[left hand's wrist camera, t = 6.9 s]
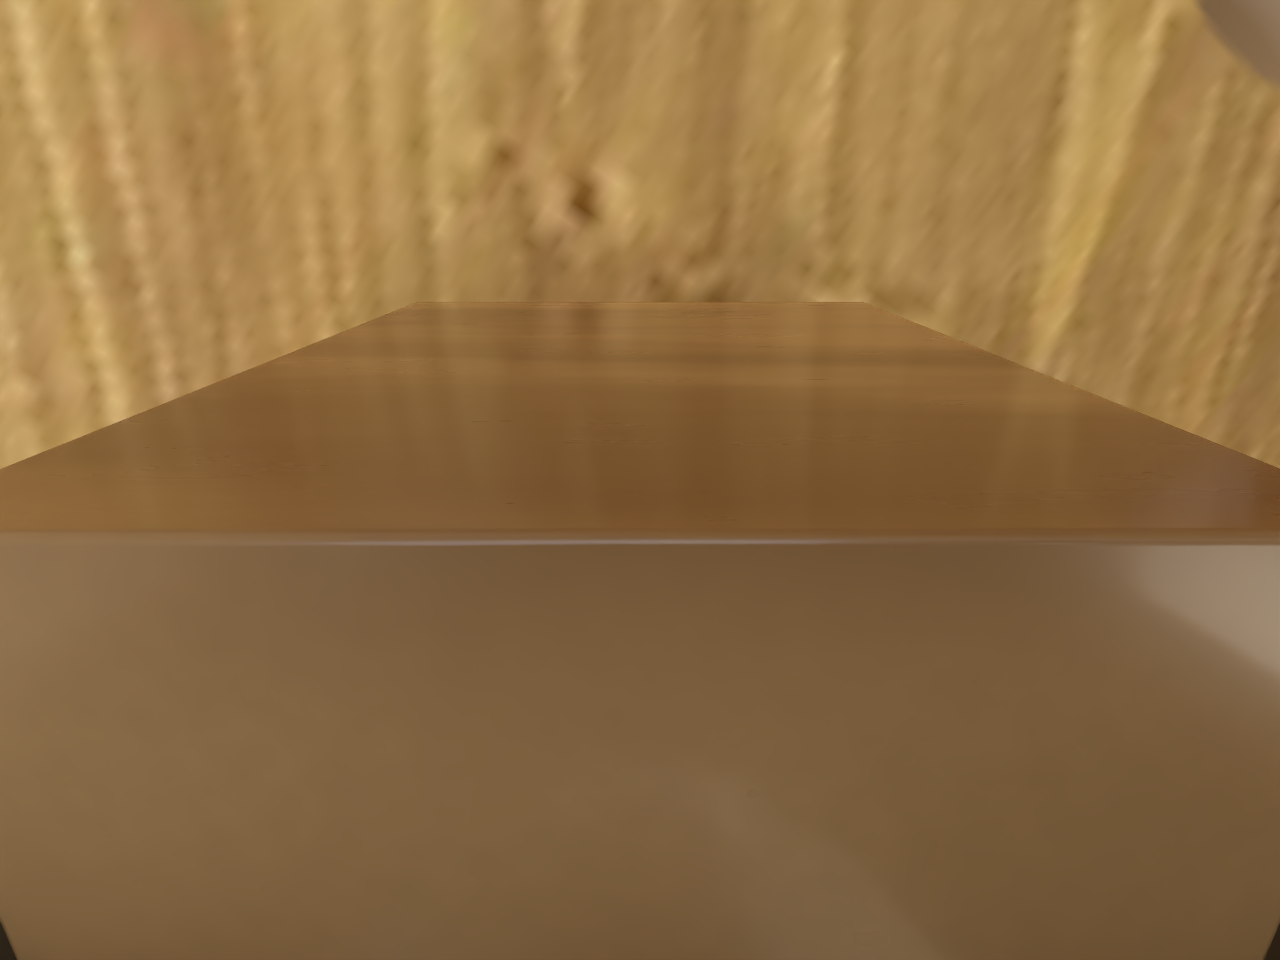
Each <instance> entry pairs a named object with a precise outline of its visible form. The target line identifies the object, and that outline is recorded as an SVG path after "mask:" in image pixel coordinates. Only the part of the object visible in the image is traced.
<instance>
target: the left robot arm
mask: <svg viewBox="0 0 1280 960" xmlns="http://www.w3.org/2000/svg"><path fill="white" fill-rule="evenodd" d="M0 960H17V959H16V956H15V954H14V952H13V949H12V947H11V945H10V942H9V940H8V938H7V935H6V933H5V931H4V928H3V926H2V924H1V921H0ZM1264 960H1280V924H1279V926H1278V929H1277V931H1276V933H1275V936H1274V938H1273V940H1272V943H1271V945H1270V947H1269V950H1268V952H1267V954H1266V957H1265V959H1264Z"/></svg>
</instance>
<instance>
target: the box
mask: <svg viewBox="0 0 1280 960" xmlns="http://www.w3.org/2000/svg"><path fill="white" fill-rule="evenodd" d="M0 921H1V924H2V926H3V928H4V931H5V933H6V935H7V938H8V940H9V942H10V945H11V947H12V949H13V952H14V954H15V956H16V959H17V960H1264V959H1265V957H1266V954H1267V952H1268V950H1269V947H1270V945H1271V943H1272V940H1273V938H1274V936H1275V933H1276V931H1277V929H1278V926H1279V924H1280V469H1279V468H1277V467H1274V466H1272V465H1269V464H1267V463H1264V462H1262V461H1259V460H1257V459H1254V458H1252V457H1249V456H1247V455H1244V454H1242V453H1239V452H1237V451H1234V450H1232V449H1229V448H1227V447H1224V446H1222V445H1219V444H1217V443H1214V442H1212V441H1209V440H1206V439H1204V438H1202V437H1199V436H1196V435H1194V434H1191V433H1189V432H1186V431H1184V430H1181V429H1179V428H1176V427H1174V426H1171V425H1169V424H1166V423H1164V422H1161V421H1159V420H1156V419H1154V418H1151V417H1149V416H1146V415H1144V414H1141V413H1139V412H1136V411H1134V410H1131V409H1129V408H1126V407H1124V406H1121V405H1119V404H1116V403H1114V402H1111V401H1109V400H1106V399H1104V398H1101V397H1099V396H1096V395H1094V394H1091V393H1089V392H1086V391H1084V390H1081V389H1079V388H1076V387H1074V386H1071V385H1069V384H1066V383H1064V382H1061V381H1059V380H1056V379H1054V378H1051V377H1049V376H1046V375H1044V374H1041V373H1039V372H1036V371H1034V370H1031V369H1029V368H1026V367H1024V366H1021V365H1019V364H1016V363H1014V362H1011V361H1009V360H1006V359H1004V358H1001V357H999V356H996V355H994V354H991V353H989V352H986V351H984V350H981V349H979V348H976V347H974V346H971V345H969V344H966V343H964V342H961V341H959V340H956V339H954V338H951V337H949V336H946V335H944V334H941V333H939V332H936V331H934V330H931V329H929V328H926V327H924V326H921V325H919V324H916V323H914V322H911V321H909V320H906V319H904V318H901V317H899V316H896V315H894V314H891V313H889V312H886V311H884V310H881V309H879V308H876V307H874V306H871V305H869V304H866V303H864V302H416V303H414V304H411V305H409V306H406V307H404V308H401V309H399V310H396V311H394V312H391V313H389V314H386V315H384V316H381V317H379V318H376V319H374V320H371V321H369V322H366V323H364V324H362V325H359V326H357V327H354V328H352V329H349V330H347V331H344V332H342V333H339V334H337V335H334V336H332V337H329V338H327V339H324V340H322V341H319V342H317V343H314V344H312V345H309V346H307V347H304V348H302V349H299V350H297V351H294V352H292V353H289V354H287V355H284V356H282V357H279V358H277V359H274V360H272V361H269V362H267V363H264V364H262V365H259V366H257V367H254V368H252V369H249V370H247V371H244V372H242V373H239V374H237V375H234V376H232V377H229V378H227V379H224V380H222V381H219V382H217V383H214V384H212V385H209V386H207V387H204V388H202V389H199V390H197V391H194V392H192V393H189V394H187V395H184V396H182V397H179V398H177V399H175V400H172V401H170V402H167V403H165V404H162V405H160V406H157V407H155V408H152V409H150V410H147V411H145V412H142V413H140V414H137V415H135V416H132V417H130V418H127V419H125V420H122V421H120V422H117V423H115V424H112V425H110V426H107V427H105V428H102V429H100V430H97V431H95V432H92V433H90V434H87V435H85V436H82V437H80V438H77V439H75V440H72V441H70V442H67V443H65V444H62V445H60V446H57V447H55V448H52V449H50V450H47V451H45V452H42V453H40V454H37V455H35V456H32V457H30V458H27V459H25V460H22V461H20V462H17V463H15V464H12V465H10V466H7V467H5V468H2V469H0Z"/></svg>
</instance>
